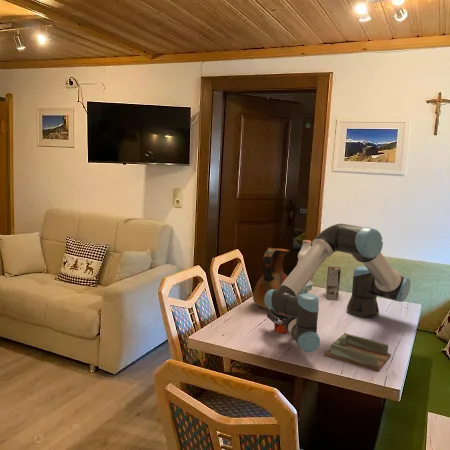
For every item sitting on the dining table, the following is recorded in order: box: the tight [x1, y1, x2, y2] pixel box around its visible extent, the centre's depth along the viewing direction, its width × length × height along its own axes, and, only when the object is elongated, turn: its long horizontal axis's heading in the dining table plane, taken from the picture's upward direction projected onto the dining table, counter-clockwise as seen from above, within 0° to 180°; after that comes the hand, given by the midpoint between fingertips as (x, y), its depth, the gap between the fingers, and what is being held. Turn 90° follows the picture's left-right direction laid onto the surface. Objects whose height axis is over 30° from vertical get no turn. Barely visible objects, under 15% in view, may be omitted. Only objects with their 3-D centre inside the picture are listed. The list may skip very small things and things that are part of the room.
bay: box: [323, 332, 391, 372], centre depth 164 cm, size 16×20×4 cm
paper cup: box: [273, 311, 289, 334], centre depth 185 cm, size 8×8×14 cm
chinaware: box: [297, 280, 314, 297], centre depth 238 cm, size 15×15×8 cm
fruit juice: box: [296, 239, 314, 290], centre depth 250 cm, size 9×9×28 cm
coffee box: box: [325, 266, 342, 301], centre depth 236 cm, size 9×6×16 cm
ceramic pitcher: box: [252, 247, 290, 310], centre depth 213 cm, size 20×20×30 cm
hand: (279, 307), depth 189 cm, fingers closed on paper cup, 8 cm apart
